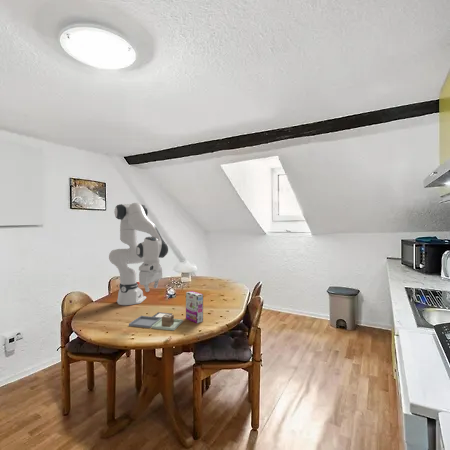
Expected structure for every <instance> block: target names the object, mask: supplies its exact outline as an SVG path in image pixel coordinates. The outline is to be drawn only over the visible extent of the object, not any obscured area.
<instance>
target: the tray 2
mask: <svg viewBox="0 0 450 450" xmlns="http://www.w3.org/2000/svg"><path fill="white" fill-rule="evenodd" d="M183 323H184V319H179V318H174V324H173V325H172V326H171V327H166V326H162V318H161V319H160V320H159V321H157V322H156V323H155V324H153V325H152V327H151V329H155V330H164V331H165V330H167V331H175V330H176V329H177V328H179V326H180V325H181V324H183Z"/></svg>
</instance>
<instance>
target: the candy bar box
mask: <svg viewBox="0 0 450 450" xmlns="http://www.w3.org/2000/svg"><path fill="white" fill-rule="evenodd" d="M185 319H186V320H188V321H190V322H193V323H195V324H199V323H202V322H204V294H203V293H200V292H196V291H193V290H191V291H187V292H186V291H185Z"/></svg>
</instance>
